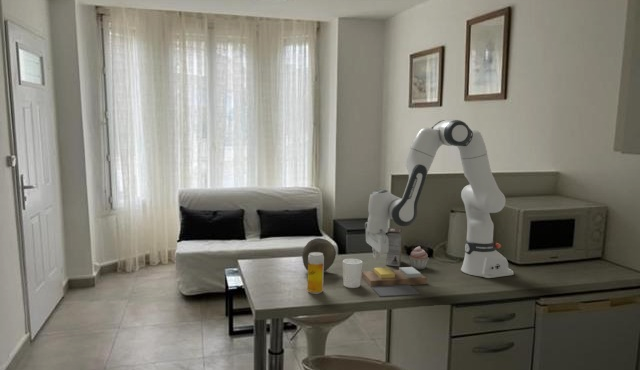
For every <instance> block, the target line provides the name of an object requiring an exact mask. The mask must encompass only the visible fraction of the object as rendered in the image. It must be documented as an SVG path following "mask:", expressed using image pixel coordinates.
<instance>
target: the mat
mask: <svg viewBox="0 0 640 370" xmlns="http://www.w3.org/2000/svg"><path fill="white" fill-rule="evenodd" d="M370 288H371V289H372V290H373V291H374V292H375V294H377V296H378V297H379V298H385V297H404V296H419V295H420V294H421V293H420V292H418V290H416V289H415V288H414V287H413V286H411V285H409V284H403V285H383V286H371V287H370Z"/></svg>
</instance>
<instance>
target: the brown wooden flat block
mask: <svg viewBox="0 0 640 370" xmlns="http://www.w3.org/2000/svg"><path fill="white" fill-rule="evenodd" d="M390 270H391V269H390ZM391 271H392V272H393V273H395V278H380V277H379V276H378V275H377V274H376V273H375V272H374V270H371V271H370V270H368V271H362V273H361V279H363V280H364V281H365V283H366V284H368V286H369V287H370V288H371V286H383V285H403V284H409V285H410V286H411V285H413V286H414V285H427V284H428V279H427V276H425V275H424V274H423V273H421V277H413V278H407V277H406V276H404V275H403V274H402V273H401V272H399V269H393V270H391Z"/></svg>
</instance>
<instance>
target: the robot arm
mask: <svg viewBox="0 0 640 370" xmlns="http://www.w3.org/2000/svg"><path fill="white" fill-rule="evenodd" d="M443 145H444V146H449V147H450V146H453V147H457V149H458V151H459V156H460V161H461V165H462V171H463V175H464V177H465V178H466V180H467V181H468V183H469V184H467V185H466V186H464V187H463V189H462V190H461V194H460V197H461V200H462V202H463V205H464V210H465V214H466V216H465V217H466V224H467V226H466V227H467V228H466V239H465V242H464V243H465V244H464V256H463V257H464V259H463V262H462V265H461V268H460V271H461V272H463V273H464V274H466V275H471V276H476V277H483V278H486V279H491V278H492V279H493V278H499V277H507V276H513V275H515V274H514V271H513V270H512V269H511V268H509V262H508V260H507V258H506V257H505V256H504V255H502V254H501V253H500V252H499V251H497V249H500V248H501V244H500V243H498V242H495V241H494V227H495V226H494V225H495V224H494V222H493V221H492V218H491V215H490V214H495V213H499V212H501V211H502V210H503V209H504V208H505V206H506V196H505V195H504V193H503V192H502V191H501V189H500V188H499V185H498V184H497V182H496V179H495V177H494V175H493V173H492V170H491V165H490V161H489V155H488V151H487V146H486V143H485V141H484V138H483V135H482V134H481V132H480V131H479V130H475V129H471V128H470V127H469V125H468V124H467V123H466V122H464V121H463V120H461V119H460V120H459V119H443V120H442V119H441V120H440V121H438V122H436V123H435V124H434V125H433V126H432V127H422V128H421V129H419V131H418V132H417V134H416V135H415V137H414V138H413V141H412V142H411V145H410V148H409V149H408V151H407V155H406V157H405V158H406V159H405V166H406V169H407V173H408V179H407V180H408V181H407V183H406V186H405V189H404V192H403V195H402V197H398V196H396V195H394V194H392V192H390V191H388V190H387V189H377V190H374V191H372V192H371V193H370V195H369V198H368V199H369V200H368V209H367V211H368V216H367V221H366V222H365V223H364V229H365V242H366V244H367V245H369V246H371V247H372V250H371V251H372V256H373V259H375V260H379V259H380V255H387V253H388V246H389V245H388V236H387V235H388V229H389V220H393V221H394V223H395V224H396V225H398V226H400V227H407V226H410V225H412V224H413V223H414V222H415V220H416V219H417V217H418V202H419V199H420V197H421V194H422V190H423V188H424V185H425V183H426V182H425V181H426V178H427V176H428V174H429V170H430V169H431V166H432V164H433V162H434V160H435V157H436V154H437V152H438V150H439V148H441V146H443ZM496 248H497V249H496Z"/></svg>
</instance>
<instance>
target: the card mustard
mask: <svg viewBox="0 0 640 370" xmlns="http://www.w3.org/2000/svg"><path fill="white" fill-rule="evenodd" d="M373 271H374V272H375V273H376V274H377V275H378V276H379V277H380V278H395V273H393V272H392V271H391V269H390V268H389V267H387V266H385V267H373Z"/></svg>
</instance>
